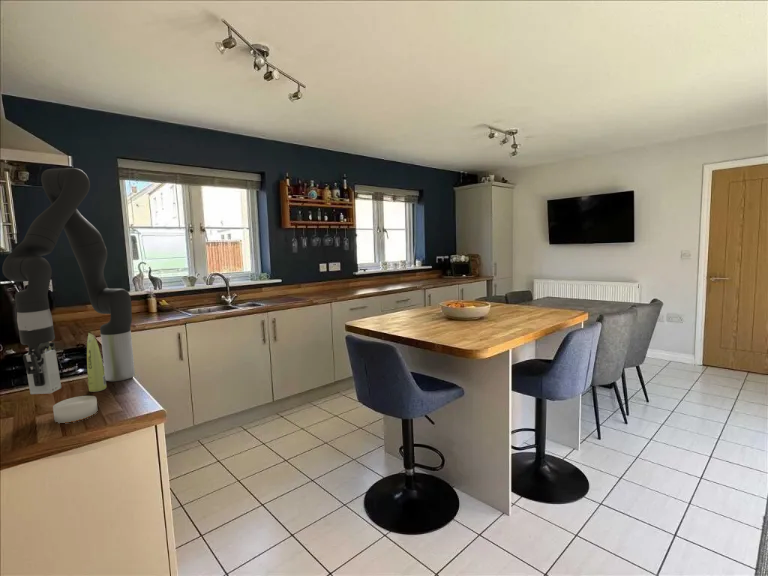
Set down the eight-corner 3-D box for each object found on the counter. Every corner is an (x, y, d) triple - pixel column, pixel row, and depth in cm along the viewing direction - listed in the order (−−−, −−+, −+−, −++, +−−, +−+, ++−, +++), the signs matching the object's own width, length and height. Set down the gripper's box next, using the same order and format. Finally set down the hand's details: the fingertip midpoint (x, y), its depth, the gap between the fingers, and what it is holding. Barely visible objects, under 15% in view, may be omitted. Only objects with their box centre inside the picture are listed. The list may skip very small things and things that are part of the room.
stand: (63, 411, 119) (61, 398, 119) (102, 406, 122) (101, 393, 122) (48, 426, 110) (46, 412, 109) (91, 420, 113) (89, 406, 113)
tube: (83, 392, 134) (76, 335, 131) (94, 386, 139) (88, 332, 136) (100, 392, 134) (94, 335, 131) (110, 386, 139) (104, 331, 136)
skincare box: (62, 388, 120) (56, 349, 118) (50, 393, 115) (44, 354, 114) (41, 388, 119) (35, 350, 118) (29, 394, 115) (22, 354, 113)
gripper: (31, 321, 120) (40, 375, 122) (6, 333, 106) (15, 393, 109) (62, 319, 122) (69, 372, 125) (40, 330, 109) (49, 389, 112)
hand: (44, 381), depth 117 cm, fingers closed on skincare box, 5 cm apart
